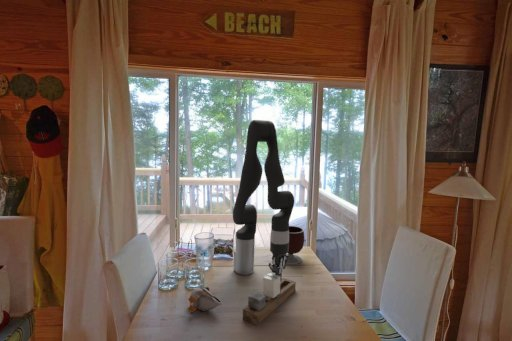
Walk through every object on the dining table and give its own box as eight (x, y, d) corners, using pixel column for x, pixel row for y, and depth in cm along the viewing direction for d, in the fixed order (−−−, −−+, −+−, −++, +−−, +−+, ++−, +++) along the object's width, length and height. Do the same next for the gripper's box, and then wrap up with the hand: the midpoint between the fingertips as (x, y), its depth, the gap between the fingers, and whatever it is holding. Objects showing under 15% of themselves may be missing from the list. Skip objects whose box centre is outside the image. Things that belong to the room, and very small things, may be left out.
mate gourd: (300, 254, 168) (301, 220, 166) (305, 265, 154) (307, 228, 152) (273, 254, 167) (274, 220, 165) (276, 265, 153) (277, 227, 151)
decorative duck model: (199, 278, 123) (232, 283, 119) (199, 296, 123) (232, 301, 119) (180, 292, 109) (217, 298, 105) (179, 312, 109) (216, 319, 105)
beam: (242, 319, 106) (243, 298, 106) (283, 286, 131) (283, 269, 130) (256, 325, 103) (257, 304, 102) (295, 290, 128) (296, 273, 127)
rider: (262, 299, 116) (262, 276, 115) (268, 293, 120) (269, 272, 119) (273, 303, 113) (274, 280, 112) (279, 298, 117) (280, 275, 116)
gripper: (279, 234, 126) (278, 272, 128) (262, 242, 115) (261, 284, 117) (295, 237, 122) (293, 277, 123) (279, 246, 111) (278, 290, 113)
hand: (278, 281), depth 120 cm, fingers closed
